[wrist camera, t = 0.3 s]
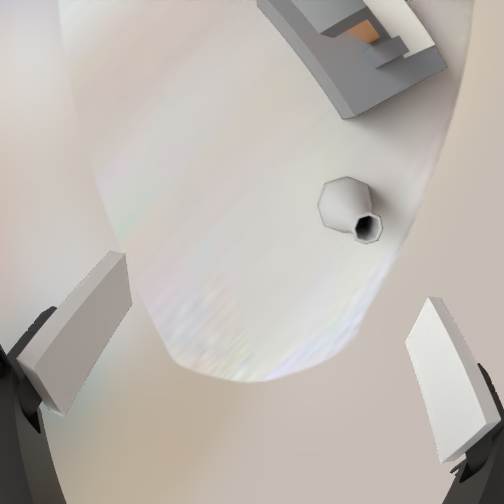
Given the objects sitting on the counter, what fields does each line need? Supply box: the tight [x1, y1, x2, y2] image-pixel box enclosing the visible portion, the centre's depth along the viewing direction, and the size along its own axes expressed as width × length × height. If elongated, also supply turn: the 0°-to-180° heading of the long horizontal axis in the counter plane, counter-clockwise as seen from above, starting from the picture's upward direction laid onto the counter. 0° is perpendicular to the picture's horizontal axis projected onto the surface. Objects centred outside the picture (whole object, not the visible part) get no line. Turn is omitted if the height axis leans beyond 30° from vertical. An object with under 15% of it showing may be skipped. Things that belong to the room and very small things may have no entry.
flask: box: [317, 177, 383, 244], centre depth 32 cm, size 7×7×10 cm
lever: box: [291, 0, 381, 44], centre depth 15 cm, size 3×7×20 cm, turn 35°
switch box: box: [257, 0, 448, 119], centre depth 25 cm, size 14×18×8 cm
